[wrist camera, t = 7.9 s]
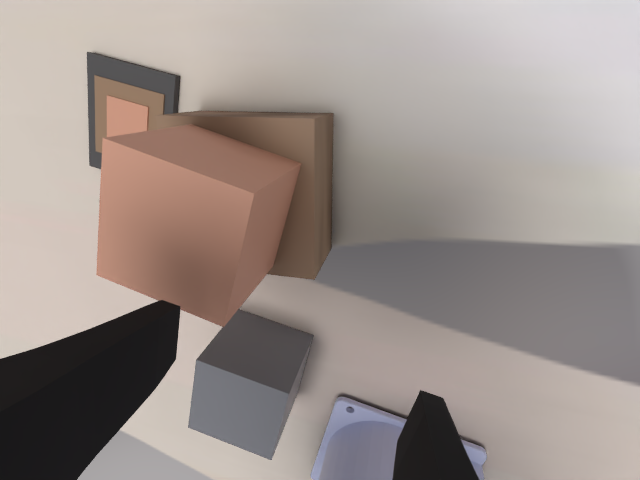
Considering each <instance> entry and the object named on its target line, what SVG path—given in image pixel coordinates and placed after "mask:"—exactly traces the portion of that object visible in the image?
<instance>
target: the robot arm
mask: <svg viewBox="0 0 640 480" xmlns="http://www.w3.org/2000/svg"><path fill="white" fill-rule="evenodd" d="M180 307H181V306H178V305H175V304H173V303H170V302H167V301H164V300H160V301H157V302H155V303H152V304H150V305H147V306H145V307H142V308H140V309H138V310H135V311H133V312H130V313H128V314H125V315H123V316H121V317H118V318H116V319H113V320H111V321H108V322H106V323H103V324H101V325H98V326H96V327H93V328H91V329H88V330H86V331H83V332H80V333H78V334H75V335H72V336H69V337H66V338H64V339H61V340H58V341H55V342H53V343H50V344H47V345H44V346H41V347H38V348H35V349H32V350H29V351H26V352H22V353H19V354H16V355H12V356H9V357H5V358H2V359H0V480H77V479H78V477H79V476H80V475H81V473H82V472H83V471H84V470H85V468H86V467H87V466H88V465H89V464H90V462H91V461H92V460H93V459H94V458H95V456H96V455H97V454H98V453H99V452H100V451H101V450H102V449H103V447H104V446H105V445H106V444H107V443H108V442H109V440H111V438H112V437H113V436H114V435H115V434H116V433H117V432H118V431H119V429H120V428H121V427H122V426H123V425H124V424H125V423H126V422H127V421H128V419H129V418H130V417H131V416H132V415H133V414H134V413H135V412H136V410H137V409H138V408H139V407H140V406H141V405H142V404H143V402H144V401H145V400H146V399H147V398H148V397H149V396H150V394H151V393H152V392H153V391H154V390H155V389H156V387H157V386H158V384H159V383H160V382H161V380H162V379H163V377H164V376H165V374H166V373H167V372H168V370H169V369H170V367H171V366H172V364H173V363H174V361H175V360H176V352H177V340H178V329H179V318H180ZM349 407H352V408H349ZM486 458H487V455H486V451H485V449H484V448H483V447H481V446H478V445H475V444H473V443H470V442H467V441H464V440H462V439H460V436H459V434H458V432H457V430H456V427H455V425H454V422H453V420H452V418H451V415H450V413H449V411H448V408H447V406H446V403H445V401H444V399H443V398H441V397H439V396H436V395H433V394H430V393H427V392H424V391H421V390H420V392H419V395H418V397H417V399H416V401H415V403H414V405H413V408H412V410H411V412H410V414H409V416H408V418H407V419H404V418H401V417H398V416H396V415H393V414H390V413H387V412H385V411H382V410H379V409H376V408H374V407H371V406H368V405H365V404H363V403H360V402H357V401H354V400H352V399H349V398H346V397H338V398H337V399H336V401H335V404H334V407H333V410H332V413H331V416H330V419H329V422H328V425H327V428H326V431H325V433H324V436H323V439H322V442H321V445H320V448H319V451H318V454H317V457H316V460H315V463H314V466H313V469H312V472H311V478H312V479H313V480H484V474H483V468H482V465H483V464H484V462H485V460H486Z"/></svg>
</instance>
